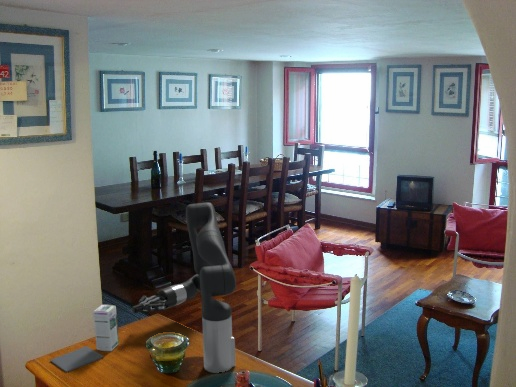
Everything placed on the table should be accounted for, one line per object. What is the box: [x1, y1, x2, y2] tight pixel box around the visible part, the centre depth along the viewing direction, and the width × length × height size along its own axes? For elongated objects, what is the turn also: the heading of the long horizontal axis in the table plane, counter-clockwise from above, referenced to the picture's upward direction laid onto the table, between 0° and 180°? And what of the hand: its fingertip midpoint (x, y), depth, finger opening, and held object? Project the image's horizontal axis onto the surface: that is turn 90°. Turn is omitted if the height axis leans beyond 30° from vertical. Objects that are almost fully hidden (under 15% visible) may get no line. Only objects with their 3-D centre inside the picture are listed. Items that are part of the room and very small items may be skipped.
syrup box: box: [92, 304, 120, 352], centre depth 182 cm, size 6×6×14 cm
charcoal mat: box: [50, 345, 104, 373], centre depth 175 cm, size 13×11×1 cm
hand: (133, 310), depth 190 cm, fingers closed
